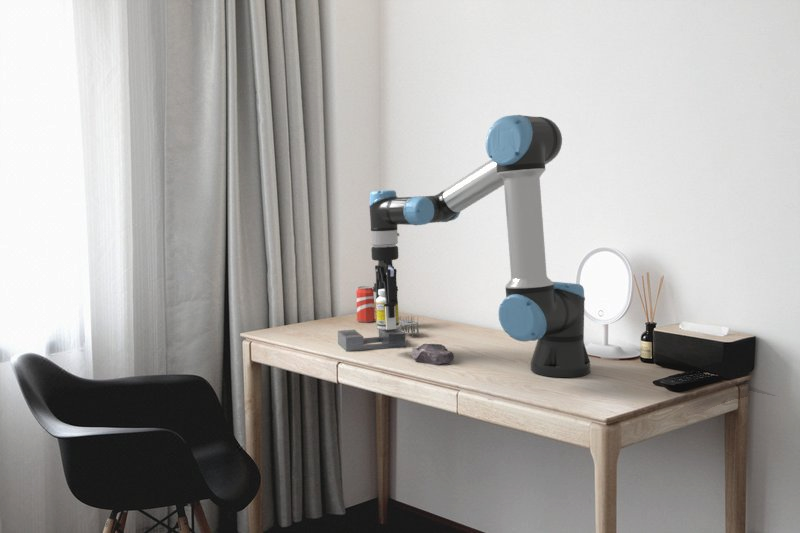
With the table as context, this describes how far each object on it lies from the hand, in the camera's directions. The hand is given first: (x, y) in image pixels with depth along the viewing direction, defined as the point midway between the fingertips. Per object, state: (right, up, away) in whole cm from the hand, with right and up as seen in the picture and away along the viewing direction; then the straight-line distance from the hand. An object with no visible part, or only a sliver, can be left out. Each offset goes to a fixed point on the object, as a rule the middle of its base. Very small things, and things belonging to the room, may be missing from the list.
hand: (387, 326), depth 235 cm
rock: (+12, -9, -8) cm, 17 cm away
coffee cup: (-1, -4, +38) cm, 39 cm away
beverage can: (-8, -2, +52) cm, 53 cm away
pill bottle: (0, -1, 0) cm, 1 cm away
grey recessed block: (-5, -6, +13) cm, 16 cm away
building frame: (+6, -5, +27) cm, 28 cm away
